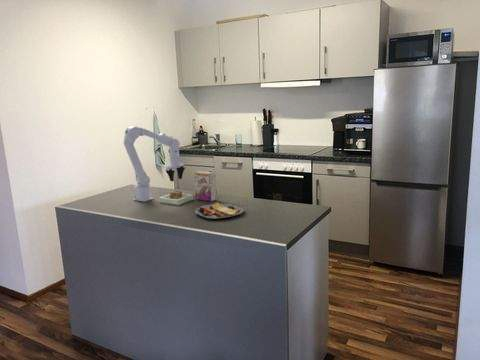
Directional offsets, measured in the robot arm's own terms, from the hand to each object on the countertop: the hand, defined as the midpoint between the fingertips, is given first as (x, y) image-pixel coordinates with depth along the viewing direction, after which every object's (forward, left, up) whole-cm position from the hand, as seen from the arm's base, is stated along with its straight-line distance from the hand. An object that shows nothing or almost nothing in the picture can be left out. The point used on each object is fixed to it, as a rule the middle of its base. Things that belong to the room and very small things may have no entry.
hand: (176, 179), depth 246 cm
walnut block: (+10, -12, -9) cm, 18 cm away
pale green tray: (+10, -12, -9) cm, 18 cm away
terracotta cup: (+15, +4, -9) cm, 18 cm away
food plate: (+47, -21, -10) cm, 52 cm away
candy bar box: (+24, -2, -10) cm, 26 cm away
